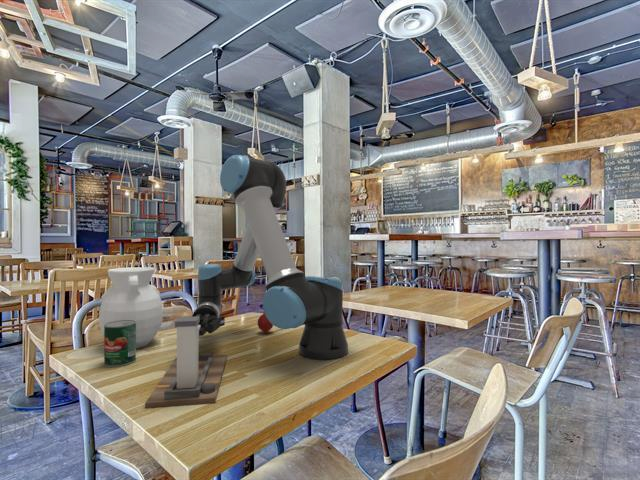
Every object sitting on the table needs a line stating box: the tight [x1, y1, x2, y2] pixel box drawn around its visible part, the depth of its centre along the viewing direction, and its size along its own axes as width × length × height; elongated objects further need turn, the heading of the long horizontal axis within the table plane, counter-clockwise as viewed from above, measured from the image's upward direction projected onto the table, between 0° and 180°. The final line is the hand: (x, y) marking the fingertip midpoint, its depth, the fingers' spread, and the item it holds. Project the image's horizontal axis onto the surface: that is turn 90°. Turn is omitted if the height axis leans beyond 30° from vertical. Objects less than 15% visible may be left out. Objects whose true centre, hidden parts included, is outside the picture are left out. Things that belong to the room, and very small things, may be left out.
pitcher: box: [98, 266, 164, 349], centre depth 116 cm, size 19×18×25 cm
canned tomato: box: [103, 320, 137, 368], centre depth 100 cm, size 8×8×11 cm
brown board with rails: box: [144, 353, 228, 409], centre depth 88 cm, size 28×14×2 cm, turn 10°
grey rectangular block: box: [174, 316, 200, 389], centre depth 82 cm, size 5×5×15 cm
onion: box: [257, 311, 274, 334], centre depth 131 cm, size 6×6×8 cm
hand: (194, 336), depth 90 cm, fingers closed
